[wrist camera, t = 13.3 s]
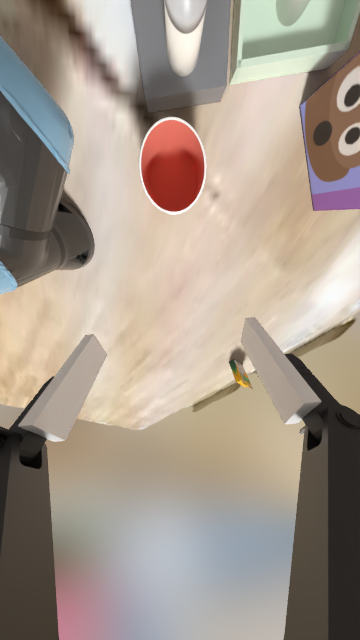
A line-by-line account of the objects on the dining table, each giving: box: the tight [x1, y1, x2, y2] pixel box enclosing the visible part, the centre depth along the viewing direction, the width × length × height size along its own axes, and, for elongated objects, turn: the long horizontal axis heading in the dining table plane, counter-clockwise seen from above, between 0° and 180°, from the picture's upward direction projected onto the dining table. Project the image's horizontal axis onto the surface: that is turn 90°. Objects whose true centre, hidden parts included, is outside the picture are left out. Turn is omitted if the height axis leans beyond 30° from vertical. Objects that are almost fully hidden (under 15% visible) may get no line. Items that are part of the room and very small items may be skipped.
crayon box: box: [229, 360, 253, 389], centre depth 62 cm, size 7×3×12 cm, turn 48°
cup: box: [139, 117, 206, 214], centre depth 25 cm, size 10×10×10 cm
